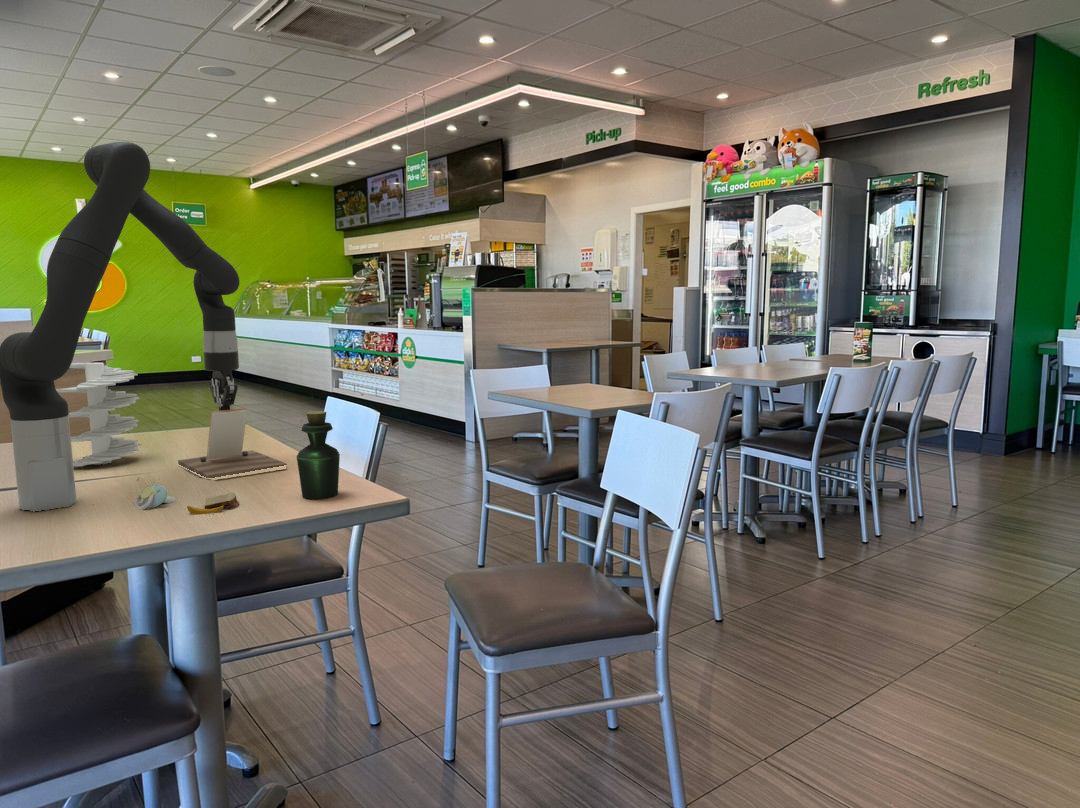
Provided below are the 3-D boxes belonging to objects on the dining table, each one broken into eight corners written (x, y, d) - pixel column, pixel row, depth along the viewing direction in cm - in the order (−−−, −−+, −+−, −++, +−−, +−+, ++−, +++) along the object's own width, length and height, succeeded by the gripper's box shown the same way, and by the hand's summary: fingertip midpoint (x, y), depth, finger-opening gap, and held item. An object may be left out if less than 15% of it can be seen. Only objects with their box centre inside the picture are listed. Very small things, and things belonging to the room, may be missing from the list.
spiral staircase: (155, 461, 185) (147, 362, 181) (76, 474, 172) (66, 367, 168) (127, 452, 197) (120, 359, 193) (51, 463, 184) (41, 363, 180)
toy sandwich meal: (187, 511, 141) (186, 493, 141) (243, 507, 143) (242, 489, 143) (174, 525, 132) (173, 506, 132) (235, 521, 134) (233, 502, 134)
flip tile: (240, 452, 184) (241, 454, 183) (206, 456, 178) (208, 459, 178) (245, 408, 178) (247, 410, 177) (211, 411, 172) (212, 413, 172)
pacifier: (126, 506, 140) (146, 479, 143) (154, 521, 144) (173, 494, 147) (141, 512, 136) (161, 484, 138) (169, 528, 140) (188, 500, 142)
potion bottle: (320, 495, 151) (316, 408, 149) (350, 500, 148) (346, 411, 145) (290, 504, 144) (285, 413, 142) (320, 509, 140) (316, 416, 138)
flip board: (287, 469, 175) (286, 458, 175) (208, 482, 163) (207, 470, 163) (252, 455, 191) (251, 445, 191) (178, 466, 180) (177, 455, 179)
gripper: (247, 350, 172) (251, 423, 175) (227, 348, 182) (231, 417, 185) (213, 352, 167) (218, 427, 170) (195, 349, 177) (200, 420, 180)
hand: (225, 421), depth 177 cm, fingers closed
